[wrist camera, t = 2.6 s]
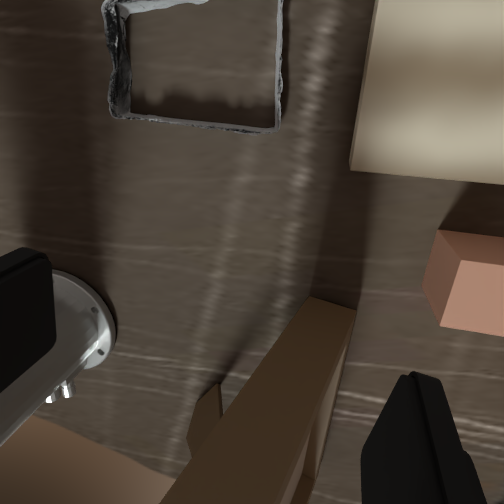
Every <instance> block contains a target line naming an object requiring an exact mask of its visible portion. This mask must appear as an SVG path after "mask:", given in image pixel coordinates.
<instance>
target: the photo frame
mask: <svg viewBox="0 0 504 504" xmlns="http://www.w3.org/2000/svg"><path fill="white" fill-rule="evenodd" d="M356 312H357V311H356V310H353V309H349V308H346V307H343V306H340V305H337V304H333V303H330V302H327V301H324V300H320V299H317V298H314V297H311V296H309V297H308V298H307V299H306V301H305V302H304V303H303V305H302V306H301V308H300V309H299V310H298V312H297V313H296V315H295V316H294V317H293V319H292V320H291V322H290V323H289V324H288V326H287V327H286V328H285V330H284V331H283V333H282V334H281V335H280V337H279V338H278V340H277V341H276V342H275V344H274V345H273V347H272V348H271V349H270V351H269V352H268V353H267V355H266V356H265V358H264V359H263V360H262V362H261V363H260V365H259V366H258V367H257V369H256V370H255V372H254V373H253V374H252V376H251V377H250V378H249V380H248V381H247V383H246V384H245V385H244V387H243V388H242V390H241V391H240V392H239V394H238V395H237V396H236V398H235V399H234V401H233V402H232V403H231V405H230V406H229V408H228V409H227V410H226V412H225V413H224V415H223V408H222V397H221V386H220V384H218V383H217V384H216V385H215V386H214V387H212V388H211V389H210V390H209V391H208V392H207V393H206V394H205V395H204V396H203V397H202V398H201V399H200V400H199V401H198V402H197V403H196V405H195V409H194V412H193V416H192V419H191V423H190V426H189V430H188V433H187V437H186V439H187V442H188V446H189V449H190V452H191V456H192V459H191V460H190V462H189V463H188V465H187V466H186V467H185V469H184V470H183V471H182V473H181V474H180V476H179V477H178V478H177V480H176V481H175V483H174V484H173V485H172V487H171V488H170V490H169V491H168V492H167V494H166V495H165V496H164V498H163V499H162V501H161V502H160V503H159V504H308V503H309V500H310V497H311V494H312V491H313V488H314V485H315V482H316V479H317V476H318V473H319V468H320V464H321V460H322V456H323V452H324V447H325V443H326V439H327V435H328V430H329V426H330V422H331V418H332V414H333V409H334V405H335V401H336V397H337V392H338V388H339V384H340V380H341V375H342V371H343V367H344V363H345V359H346V354H347V350H348V346H349V342H350V337H351V333H352V329H353V325H354V321H355V316H356Z"/></svg>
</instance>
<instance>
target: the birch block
mask: <svg viewBox="0 0 504 504" xmlns="http://www.w3.org/2000/svg"><path fill="white" fill-rule="evenodd" d="M349 165H350V170H352V171H362V172H373V173H384V174H395V175H405V176H416V177H427V178H438V179H448V180H459V181H470V182H481V183H491V184H502V185H504V0H375V4H374V10H373V17H372V23H371V29H370V35H369V41H368V47H367V54H366V60H365V66H364V72H363V78H362V84H361V90H360V97H359V103H358V109H357V115H356V121H355V127H354V134H353V140H352V146H351V152H350V158H349Z"/></svg>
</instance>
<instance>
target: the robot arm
mask: <svg viewBox="0 0 504 504" xmlns="http://www.w3.org/2000/svg"><path fill="white" fill-rule="evenodd" d="M115 337H116V331H115V324H114V321H113V318H112V315H111V313H110V311H109V309H108V307H107V306H106V304H105V303H104V301H103V300H102V299H101V297H100V296H99V295H98V294H97V293H96V292H95V291H94V290H93V289H92V288H91V287H90V286H88V285H87V284H86V283H85V282H83V281H82V280H80V279H78V278H77V277H75V276H73V275H71V274H68V273H66V272H63V271H58V270H54V269H52V264H51V262H50V261H49V260H48V257H47V256H46V254H44V253H41V252H38V251H35V250H32V249H29V248H24V247H22V248H18V249H16V250H14V251H12V252H10V253H8V254H5V255H3V256H1V257H0V446H1V445H2V444H3V443H4V442H5V441H6V440H7V439H8V438H9V437H10V436H11V435H12V434H13V433H14V432H15V431H16V430H17V429H18V428H19V427H20V426H21V425H22V424H23V423H24V422H25V421H26V420H27V419H28V418H29V417H30V416H31V415H32V414H33V413H34V412H35V410H36V409H37V408H38V407H39V406H40V405H41V404H42V403H43V402H47V403H49V402H54V401H56V400H57V399H59V398H60V396H61V389H60V385H62V386H61V387H62V392H63V396H64V397H72V396H73V395H75V393H76V388H75V383H74V381H73V379H74V378H75V377H76V376H77V375H78V373H79V372H80V371H81V370H82V369H89V368H92V367H95V366H97V365H98V364H100V363H102V362H103V361H104V359H105V358H106V357H107V356H108V355H109V354H110V352H111V351H112V349H113V347H114V344H115ZM361 491H362V504H487V502H486V499H485V496H484V493H483V490H482V487H481V484H480V481H479V478H478V475H477V472H476V469H475V466H474V463H473V461H472V459H471V457H470V455H469V454H468V453H467V452H466V451H464V450H463V448H462V445H461V442H460V439H459V436H458V433H457V429H456V426H455V423H454V420H453V417H452V414H451V411H450V408H449V405H448V401H447V398H446V395H445V392H444V389H443V386H442V383H441V381H440V380H439V379H437V378H434V377H431V376H428V375H425V374H421V373H418V372H415V371H412V372H411V373H410V374H409V375H408V376H407V375H401V376H400V378H399V379H398V381H397V383H396V385H395V387H394V389H393V391H392V393H391V395H390V396H389V398H388V400H387V402H386V404H385V406H384V408H383V410H382V412H381V414H380V416H379V418H378V419H377V421H376V423H375V425H374V427H373V429H372V431H371V433H370V435H369V437H368V439H367V440H366V442H365V444H364V446H363V449H362V453H361Z"/></svg>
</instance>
